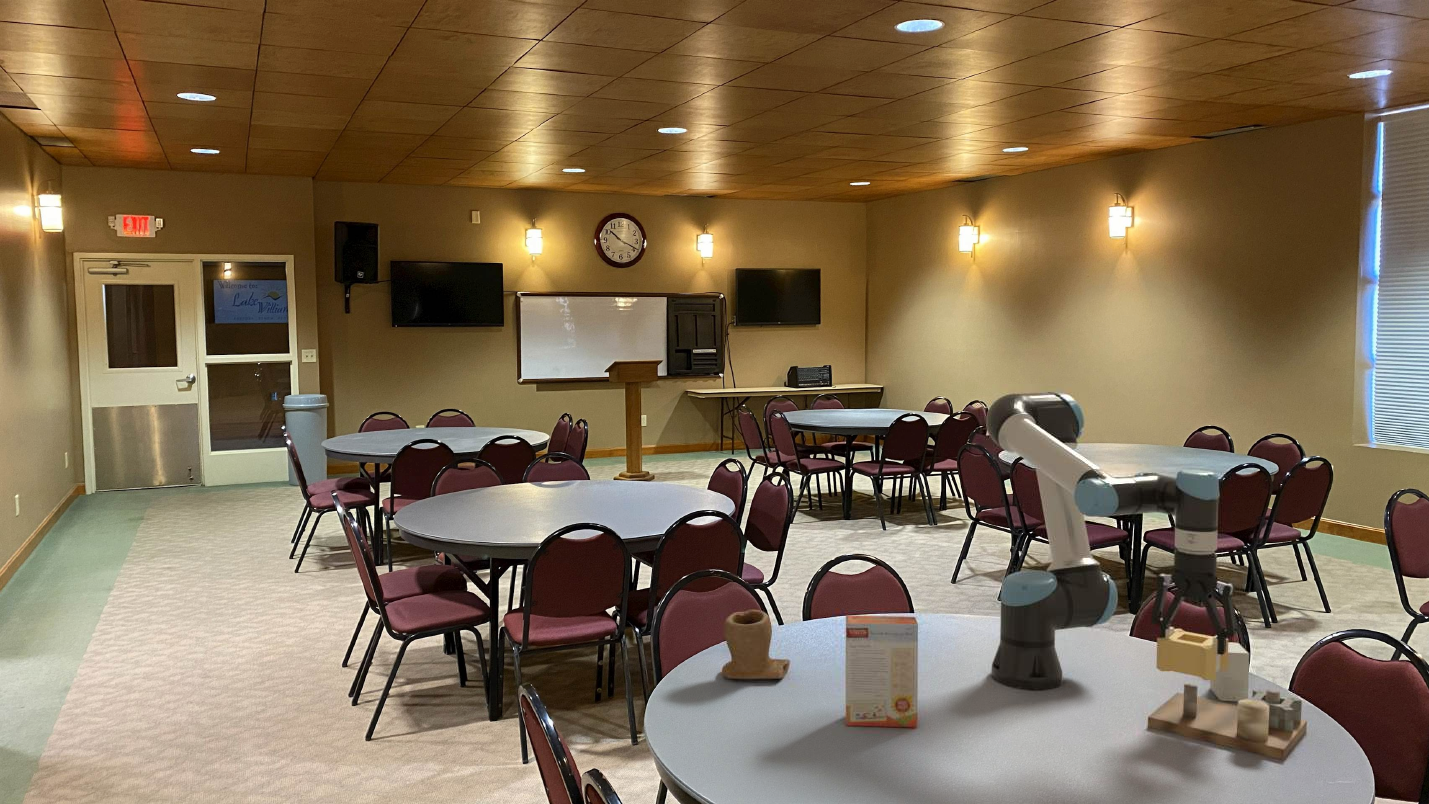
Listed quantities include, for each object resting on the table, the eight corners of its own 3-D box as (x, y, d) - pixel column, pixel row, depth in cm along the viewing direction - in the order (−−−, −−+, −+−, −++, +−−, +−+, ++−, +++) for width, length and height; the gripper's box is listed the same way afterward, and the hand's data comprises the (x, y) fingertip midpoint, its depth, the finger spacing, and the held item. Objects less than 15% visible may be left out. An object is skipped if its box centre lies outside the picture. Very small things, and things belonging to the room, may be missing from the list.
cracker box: (915, 717, 211) (916, 615, 209) (917, 729, 205) (919, 623, 203) (844, 714, 212) (845, 613, 210) (845, 726, 206) (846, 621, 204)
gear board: (1147, 726, 206) (1148, 686, 205) (1177, 701, 219) (1178, 664, 219) (1283, 760, 190) (1285, 717, 189) (1306, 730, 203) (1308, 690, 203)
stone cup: (719, 686, 229) (719, 618, 228) (724, 668, 241) (724, 604, 240) (788, 688, 227) (789, 620, 226) (790, 670, 239) (790, 605, 238)
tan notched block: (1153, 669, 205) (1154, 639, 204) (1172, 656, 213) (1172, 627, 212) (1213, 681, 198) (1214, 650, 197) (1229, 667, 206) (1230, 637, 205)
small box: (1248, 703, 218) (1250, 653, 218) (1219, 701, 220) (1221, 651, 219) (1237, 689, 226) (1238, 642, 225) (1209, 688, 227) (1211, 640, 227)
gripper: (1134, 546, 208) (1131, 658, 209) (1248, 561, 194) (1244, 681, 196) (1147, 540, 213) (1144, 650, 215) (1259, 554, 200) (1255, 671, 201)
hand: (1192, 665), depth 205 cm, fingers closed on tan notched block, 8 cm apart
